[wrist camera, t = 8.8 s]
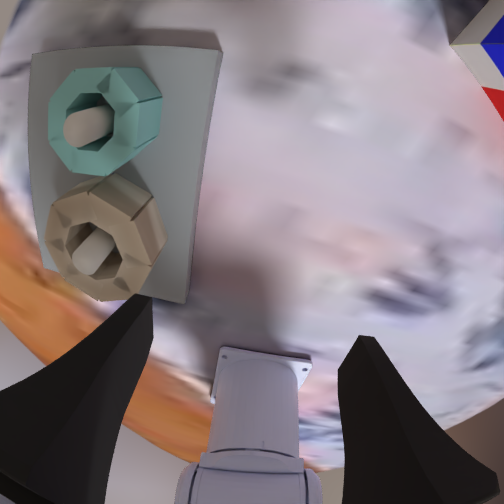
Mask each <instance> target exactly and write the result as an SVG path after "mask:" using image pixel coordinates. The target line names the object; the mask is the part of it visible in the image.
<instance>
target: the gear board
mask: <svg viewBox="0 0 504 504" xmlns="http://www.w3.org/2000/svg"><path fill="white" fill-rule="evenodd" d="M222 56H223V52H221V51H219V50H211V49H201V48H190V47H175V46H149V45H125V46H99V47H85V48H74V49H64V50H56V51H49V52H42V53H36V54H32V60H31V69H30V81H29V97H28V153H29V170H30V182H31V192H32V201H33V209H34V216H35V223H36V229H37V235H38V241H39V246H40V251H41V256H42V261H43V266H44V268H46V269H50V270H53V271H56V272H59V270H58V269H57V267H56V265H55V263H54V261H53V259H52V257H51V255H50V253H49V251H48V249H47V247H46V245H45V243H44V242H45V241H46V240H44V235H45V230H46V225H47V220H48V216H49V211H50V207H51V204H53V202H54V201H56V200H57V199H58V198H60V197H61V196H63V195H64V194H65V193H67V192H68V191H69V190H71V189H72V188H74V187H75V186H77V185H78V184H79V183H82V182H85V181H88V180H91V179H94V178H97V177H100V176H97V175H89V174H81V173H73V172H72V170H71V171H70V170H69V169H68V168H67V167H66V165H65V164H64V163H63V161H62V160H61V159H60V157H59V156H58V155H57V153H56V152H55V151H54V149H53V148H52V147H51V145H50V144H49V142H50V141H49V140H48V103H49V102H51V101H50V100H49V99H50V98H51V97H52V96H53V94H54V93H55V92H56V90H57V89H58V88H59V87H60V85H61V84H62V83H63V82H64V80H65V79H66V78H67V77H68V76H69V75H70V73H71V72H72V71H73V70H75V69H81V68H100V67H139V68H141V69H142V70H143V72H144V73H145V74H146V75H147V77H148V78H149V79H150V80H151V82H152V83H153V84H154V85H155V87H156V88H157V89H158V90H159V92H160V93H161V94H162V96H161V97H160V98H163V102H162V110H161V119H160V129H159V135H157V136H158V137H157V138H155V139H154V140H153V141H152V142H151V143H150V144H148V145H147V146H146V147H145V148H144V149H143V150H141V151H140V152H139V153H138V154H137V155H136V156H135V157H134V158H132V159H131V160H129V161H128V162H126V163H125V164H124V165H122V166H121V167H119V168H118V169H116V170H115V171H113V174H115V173H117V174H118V175H120V176H122V177H123V178H125V179H127V180H128V181H130V182H132V183H133V184H135V185H137V186H138V187H140V188H142V189H143V190H145V191H147V192H148V193H150V194H152V196H151V198H155V201H156V204H157V207H158V210H159V213H160V215H161V218H162V221H163V224H164V227H165V230H166V232H167V235H168V238H167V239H168V240H167V242H166V244H165V246H164V248H163V249H162V251H161V253H160V255H159V257H158V258H157V260H156V262H155V264H154V266H153V268H152V269H151V271H150V273H149V275H148V277H147V278H146V280H145V282H144V284H143V286H142V288H141V289H140V291H139V293H138V294H142V295H146V296H150V297H155V298H159V299H163V300H167V301H172V302H176V303H181V304H185V301H186V298H187V296H188V293H189V288H190V277H191V266H192V256H193V247H194V237H195V229H196V220H197V212H198V204H199V196H200V188H201V181H202V174H203V167H204V160H205V153H206V147H207V140H208V134H209V128H210V121H211V116H212V110H213V104H214V98H215V93H216V87H217V82H218V77H219V71H220V66H221V61H222ZM114 116H115V111H114V109H113V108H112V107H111V106H110V104H109V103H108V102H107V100H106V99H105V98H104V97H103V96H102V97H101V98H100V99H99V100H98V101H97V106H96V107H93V108H89V109H86V110H82V111H79V112H75V113H72V114H71V115H69V116H68V117H67V119H66V120H65V122H64V126H63V134H64V137H65V139H66V141H67V142H68V143H69V144H70V145H71V146H73V147H82V146H84V145H86V144H88V143H90V142H92V141H95V140H97V139H99V138H101V137H103V136H108V137H113V131H114ZM89 224H90V226H91V228H92V231H93V232H92V233H91V234H90V235H89V236H88V237H87V238H86V239H85V241H84V242H83V243H82V244H81V245H80V246H79V247H78V248H77V249H76V250H75V251H74V252H73V254H72V261H73V264H74V266H75V267H76V268H77V269H78V270H79V271H80V272H81V273H83V274H86V275H92V274H94V273H95V272H96V270H97V269H98V268H99V266H100V265H101V264H102V262H103V261H104V260H105V258H106V257H107V256H108V255H109V253H110V252H111V251H113V252H114V253H120V252H119V250H118V248H117V245H116V243H115V241H114V239H113V236H112V235H110V234H109V233H107V232H105V231H104V230H102V229H101V228H99V227H97V226H96V225H94V224H93V223H91V222H89Z"/></svg>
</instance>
